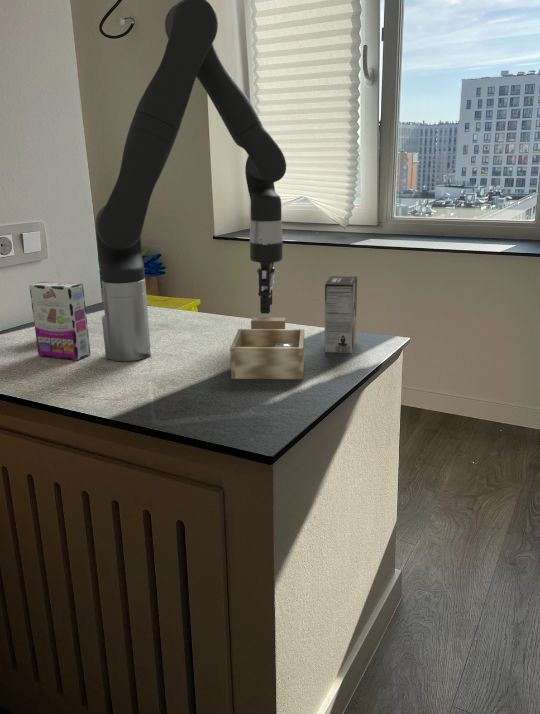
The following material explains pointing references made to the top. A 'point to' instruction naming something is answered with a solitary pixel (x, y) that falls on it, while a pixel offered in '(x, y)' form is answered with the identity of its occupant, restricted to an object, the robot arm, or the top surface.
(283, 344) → the silver metal ball
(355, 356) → the top surface
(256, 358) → the birch box
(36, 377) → the top surface
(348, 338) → the coffee box
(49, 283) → the candy bar box
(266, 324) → the lid
